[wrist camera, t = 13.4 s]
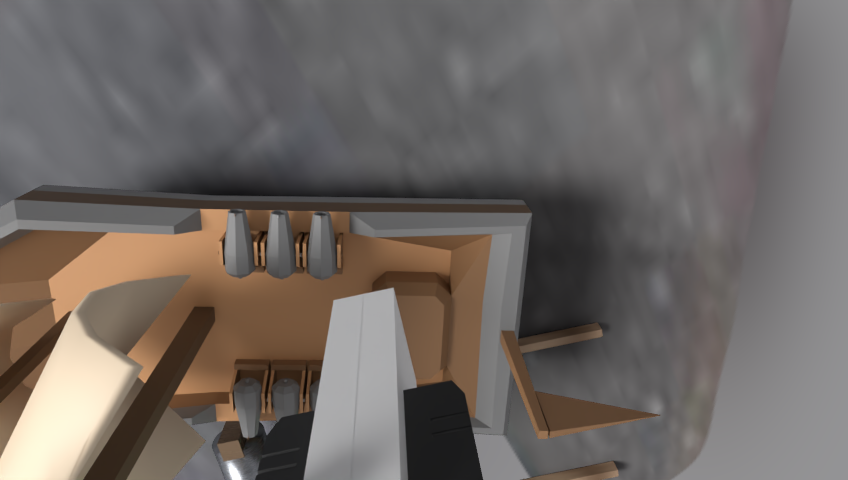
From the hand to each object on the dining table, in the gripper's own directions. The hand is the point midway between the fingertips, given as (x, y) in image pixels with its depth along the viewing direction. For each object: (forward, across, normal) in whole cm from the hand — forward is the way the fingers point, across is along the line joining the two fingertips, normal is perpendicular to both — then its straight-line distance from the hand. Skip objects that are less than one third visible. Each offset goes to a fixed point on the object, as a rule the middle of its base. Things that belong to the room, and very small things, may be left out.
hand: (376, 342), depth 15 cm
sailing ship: (+32, -10, -10) cm, 35 cm away
